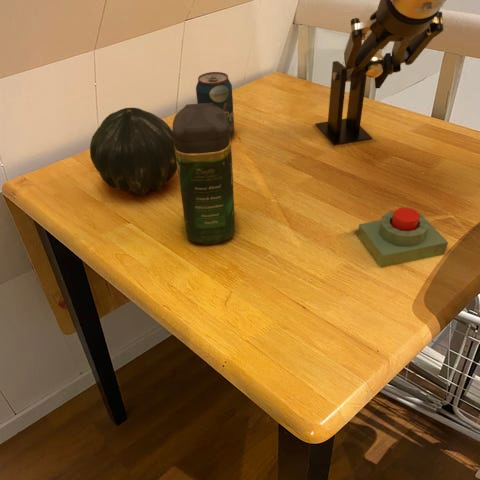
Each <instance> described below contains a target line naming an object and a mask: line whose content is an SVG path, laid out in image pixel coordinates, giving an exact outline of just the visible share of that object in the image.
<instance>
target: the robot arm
mask: <svg viewBox="0 0 480 480" xmlns="http://www.w3.org/2000/svg"><path fill="white" fill-rule="evenodd" d="M446 1H447V0H379V3H378V6H377V9H376V10H375V11H374V12H373V13H372V14H371V15H370V17H369V19H367V20H363V21H360V18H358V17H354V18H351V20H350V29H351V30H350V34H349V37H348V40H347V43H346V46H345V49H344V52H343V57H344V58H343V59H344V66H345V69H346V70H349V71H350V81H351V82H350V83H351V90H356V88H357V86H358V85H359V83H360V81H361V79H362V77H363V76H364V74H365V72H366V67H365V66H366V64H367V63H368V62H369V61H370V60H371V59H372V57H373V56H374V55H375V54H376V53H378V52H379V51H380V50H384V49H385V47H386V46H387V45H388V44H389V43H390V42H393V45H392V50H391V52H386V53H385V54H384V56H383V57H384V59H385V69H384V71H383V73H382V74H381V75H380V76H378V77H375V78H374V87H375V89H376V90H377V89H381V87H382V86H383V84H384V83H385V81H386V80H387V78H388V76H389V75H390V76H391V75H393V74H394V73H395V74H396V73H399V72H401V71H402V67H401V66H402V64H405V66H410V65H412V64H413V63H415V61H416V60H417V59H418V57H420V55H421V54H422V53H423V51H425V49H426V48H427V47H428V45H429V44H430V43H431V42H432V40H433V39H434V38H436V37H437V36H438V35H440V34H441V33H442V32H444V20H443V19H444V18H443V12H442V11H440V10H441V8H443V6H444V4H445V3H446ZM370 31H371V32H370ZM368 32H370V34H368ZM367 34H368V36H367V37H366V35H367Z"/></svg>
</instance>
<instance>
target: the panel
mask: <svg viewBox="0 0 480 480" xmlns="http://www.w3.org/2000/svg"><path fill="white" fill-rule="evenodd" d="M394 211H395V210H392V211H391V210H390V211H388V212H386V213H384V215H382V216H381V219H380V220H373V221H370V222H369V221H368V222H365V223H359V224H358V229H357V230H358V231H357V238H358V239H359V240H360V241H361V244H362V245H363V246H364V247H365V249H366V250H367V252H369V254H370V256H372V258H373V259H374V261H375V262H376V264H377V265H378V266H379V267H380V268H385V267H390V266H396V265H399V264H405V263H408V262H409V263H410V262H414V261H418V260H423V259H428V258H433V257H437V256H442V255H445V253H446V251H447V247H448V244H449V242H448V241H447V239H446V238H444V236H443V235H442V234H441V233H440V232H439V231H438V230H437V229H436V228H435V227H434V226H433V224H431V223H430V221H429V220H427V219H426V217H425V216H424V215H423V214H422V213H421V212H418V213H419V215H420V218H419V222H418V226H417V228H416V229H415V230H412V231H401V230H398V229H396V228H394V227H393V226H392V218H393V213H394Z"/></svg>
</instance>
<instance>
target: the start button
mask: <svg viewBox="0 0 480 480" xmlns="http://www.w3.org/2000/svg"><path fill="white" fill-rule="evenodd" d="M393 211H394V213H393V218H392V226H393V227H394V228H396V229H398V230H401V231H412V230H415V229H416V228H417V226H418V222H419V218H420V215H419V213H420V212H418V211H417V210H416V209H414V208H411V207H399V208H397V209H395V210H393Z"/></svg>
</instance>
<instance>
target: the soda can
mask: <svg viewBox="0 0 480 480" xmlns="http://www.w3.org/2000/svg"><path fill="white" fill-rule="evenodd" d="M232 85H233V84H232V83H231V81H230V79H229V75H228V74H227V73H225V72H221V71H210V72H205V73H202V74H200V75H199V76H198V77H197V84H196V86H195V92H196V93H195V94H196V104H202V103H214V104H215V106H217V107H219V108H221V109H222V110H223V111H224V112H225V113H226V114H227V117H228V122H229V128H230V141H232V138H233V137H234V135H235V116H234V101H233V98H234V97H233V86H232Z"/></svg>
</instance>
